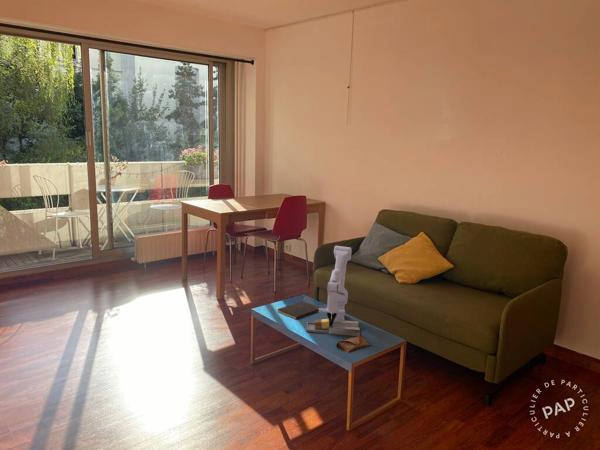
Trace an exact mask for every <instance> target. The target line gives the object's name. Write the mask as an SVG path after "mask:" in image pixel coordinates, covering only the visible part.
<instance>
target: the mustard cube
mask: <svg viewBox="0 0 600 450" xmlns="http://www.w3.org/2000/svg"><path fill="white" fill-rule="evenodd" d="M321 322H322V329H326V328H329V319H328V318H321Z"/></svg>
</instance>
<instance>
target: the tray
mask: <svg viewBox="0 0 600 450" xmlns="http://www.w3.org/2000/svg"><path fill="white" fill-rule="evenodd" d="M305 331H306V333H314V334H317V333H318V334H329V333H328V328H326V329H315V324H314V321H311V322H310V321H306V330H305Z"/></svg>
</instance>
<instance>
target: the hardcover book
mask: <svg viewBox="0 0 600 450" xmlns="http://www.w3.org/2000/svg"><path fill="white" fill-rule="evenodd" d="M319 308H321V307H319V306H318V305H317V306H316V305H314V304H311V303H308V302H307V301H306V302H305V301H303V300H302V301H298V302H295V303H292V304H290V305H289V304H288V305H286V306H283V307H280V308H277V309H276V310H277V312H278V313H279V314H282V315H284V316H287V317H289V318H291V319H294V320H295V321H296V320H300V319H301V318H305V317H307V316H310V315H311V316H312V315H313V314H315V313H316V314H317V313H319Z"/></svg>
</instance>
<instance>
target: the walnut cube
mask: <svg viewBox="0 0 600 450" xmlns="http://www.w3.org/2000/svg"><path fill="white" fill-rule="evenodd" d="M321 319H322V318H321ZM321 319H314V321H313V322H314V324H315V329H322V322H321Z"/></svg>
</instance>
